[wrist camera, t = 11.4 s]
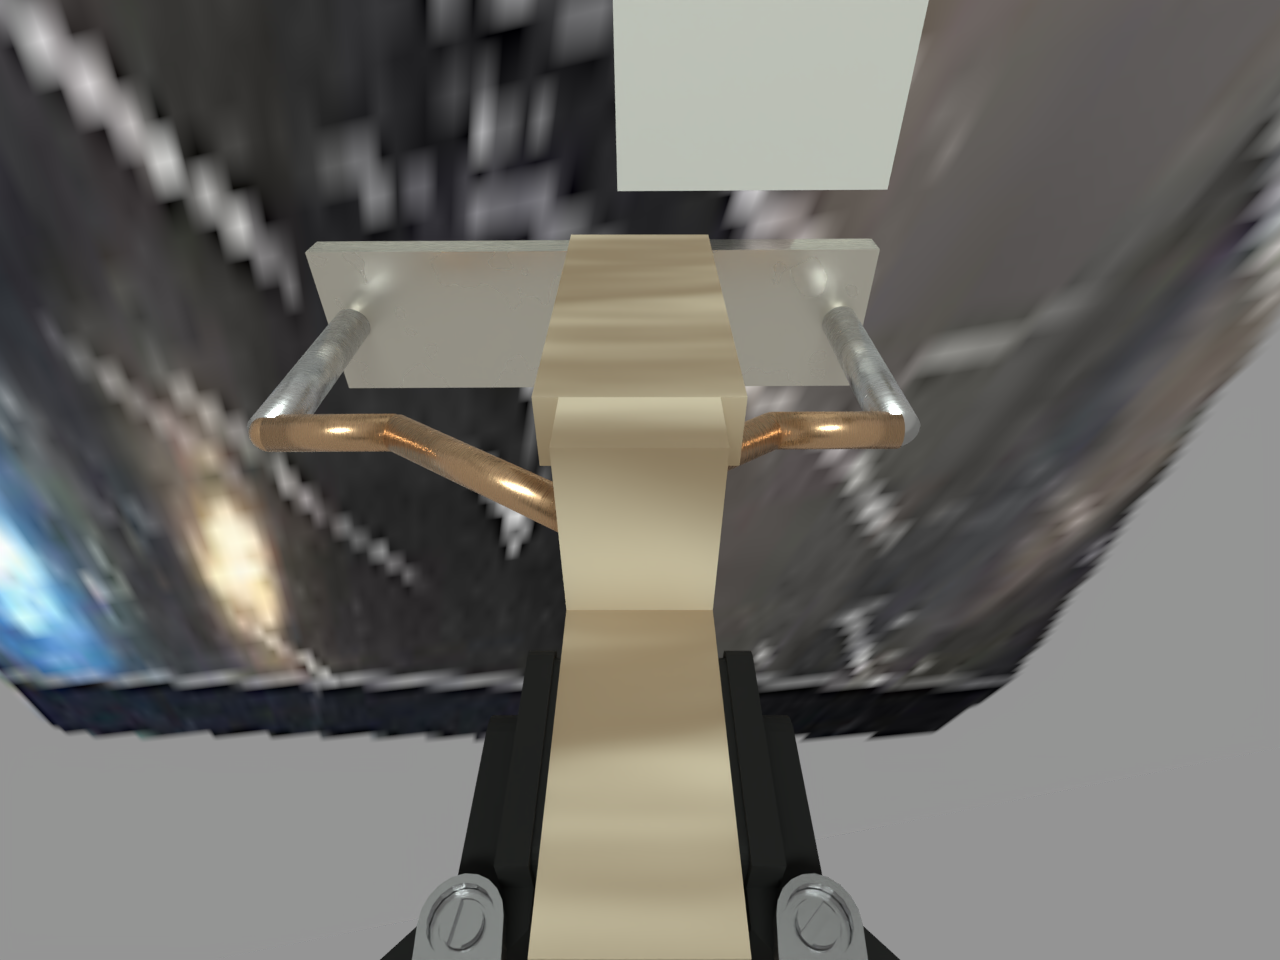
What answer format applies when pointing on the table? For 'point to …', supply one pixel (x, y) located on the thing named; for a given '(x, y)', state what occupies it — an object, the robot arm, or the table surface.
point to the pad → (761, 92)
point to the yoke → (639, 606)
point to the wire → (515, 336)
